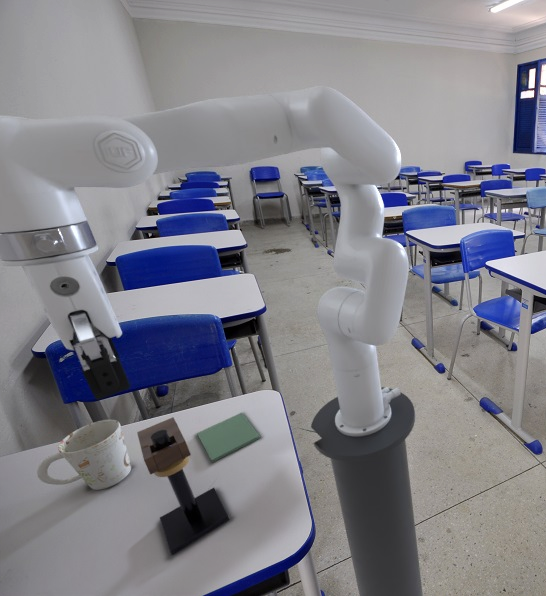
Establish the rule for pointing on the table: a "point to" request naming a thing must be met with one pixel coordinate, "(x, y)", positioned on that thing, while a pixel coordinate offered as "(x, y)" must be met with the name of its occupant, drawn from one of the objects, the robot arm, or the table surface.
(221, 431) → the mat
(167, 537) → the hanging post
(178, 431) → the brown block with hole
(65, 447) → the mug
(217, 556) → the table surface
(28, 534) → the table surface
